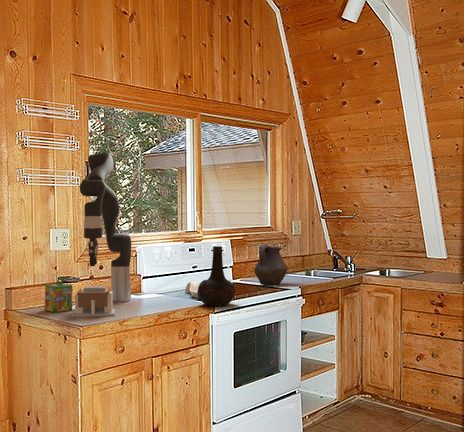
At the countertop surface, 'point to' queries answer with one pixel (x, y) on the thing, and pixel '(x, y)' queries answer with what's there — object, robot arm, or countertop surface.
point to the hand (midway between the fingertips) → (93, 265)
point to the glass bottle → (216, 283)
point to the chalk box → (58, 297)
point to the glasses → (92, 298)
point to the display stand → (94, 305)
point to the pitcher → (270, 266)
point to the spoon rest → (192, 288)
